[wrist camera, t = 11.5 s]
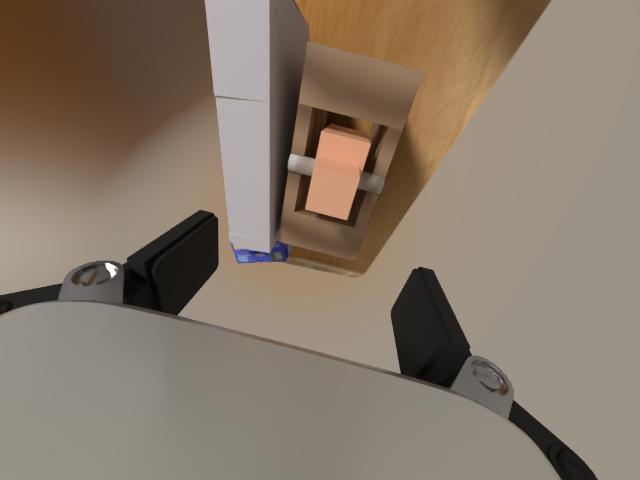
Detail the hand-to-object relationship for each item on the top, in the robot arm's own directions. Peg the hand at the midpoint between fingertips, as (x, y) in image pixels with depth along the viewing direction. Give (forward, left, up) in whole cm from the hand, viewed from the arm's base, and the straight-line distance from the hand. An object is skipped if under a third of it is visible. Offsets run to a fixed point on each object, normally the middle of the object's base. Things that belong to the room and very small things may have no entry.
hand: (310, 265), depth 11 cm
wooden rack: (0, 0, -36) cm, 36 cm away
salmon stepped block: (0, 0, -27) cm, 27 cm away
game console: (-1, -10, -36) cm, 38 cm away
